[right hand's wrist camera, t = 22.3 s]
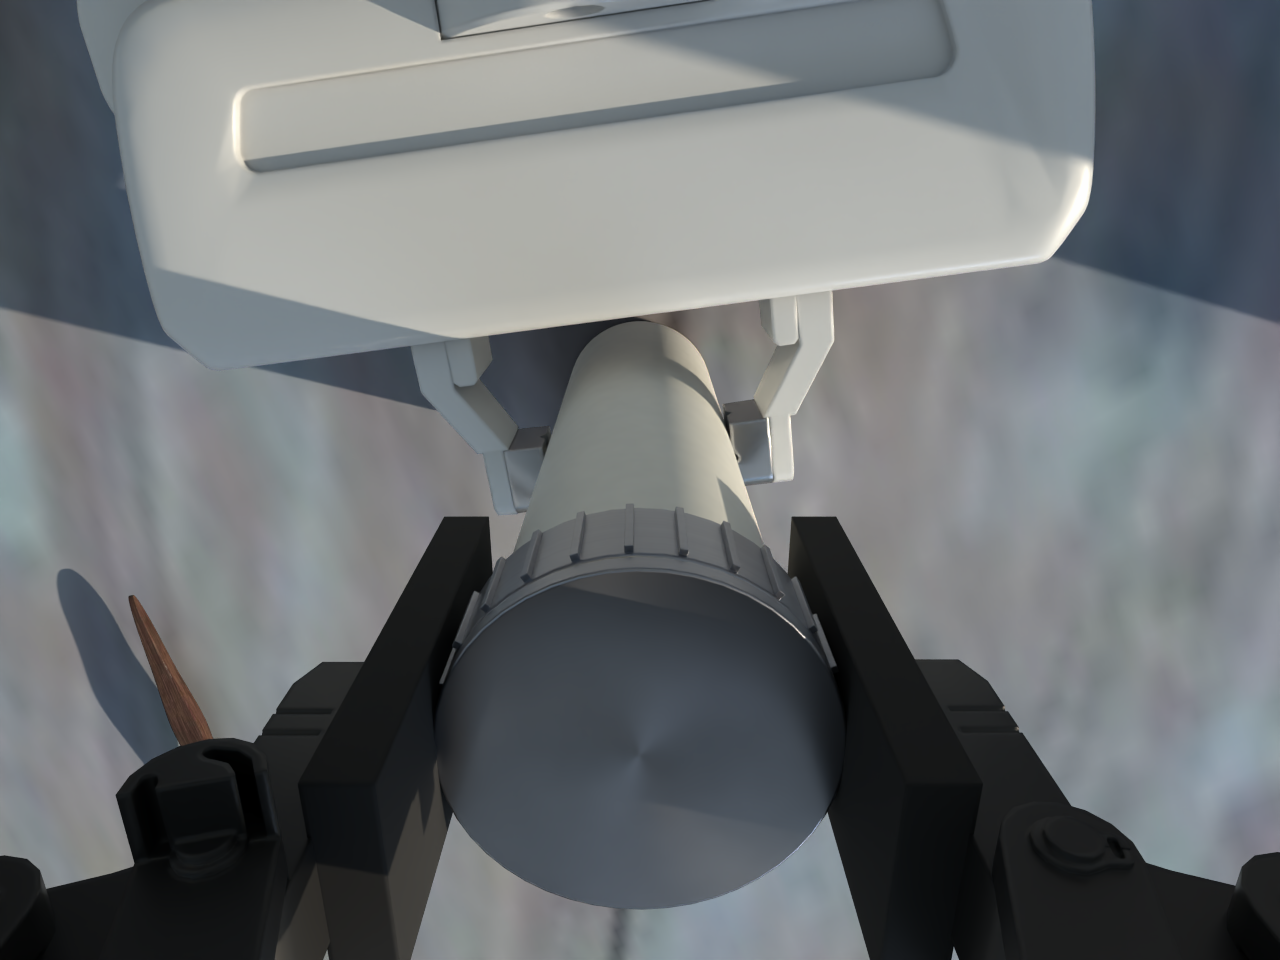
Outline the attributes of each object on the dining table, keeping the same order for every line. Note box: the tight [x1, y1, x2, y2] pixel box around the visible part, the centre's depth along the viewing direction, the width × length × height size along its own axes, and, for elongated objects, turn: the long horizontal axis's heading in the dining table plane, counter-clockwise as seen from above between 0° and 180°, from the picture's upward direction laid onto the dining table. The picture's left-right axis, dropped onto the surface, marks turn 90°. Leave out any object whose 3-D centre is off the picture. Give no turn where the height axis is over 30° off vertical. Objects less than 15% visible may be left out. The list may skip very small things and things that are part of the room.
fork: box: [129, 595, 213, 746], centre depth 31 cm, size 3×16×2 cm, turn 10°
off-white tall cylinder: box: [513, 321, 764, 553], centre depth 19 cm, size 5×5×17 cm
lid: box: [434, 504, 847, 909], centre depth 11 cm, size 5×5×2 cm
